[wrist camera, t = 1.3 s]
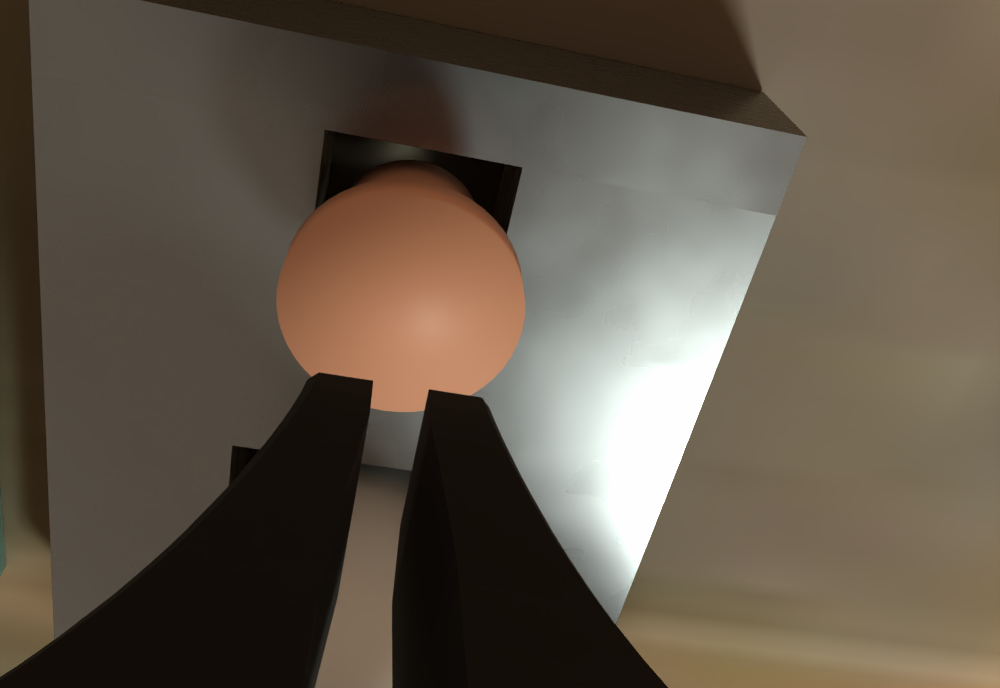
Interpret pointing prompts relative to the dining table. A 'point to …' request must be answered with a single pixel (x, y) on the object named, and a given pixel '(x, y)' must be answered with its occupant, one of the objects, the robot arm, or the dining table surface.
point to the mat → (2, 542)
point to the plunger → (402, 287)
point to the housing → (303, 188)
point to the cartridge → (367, 585)
